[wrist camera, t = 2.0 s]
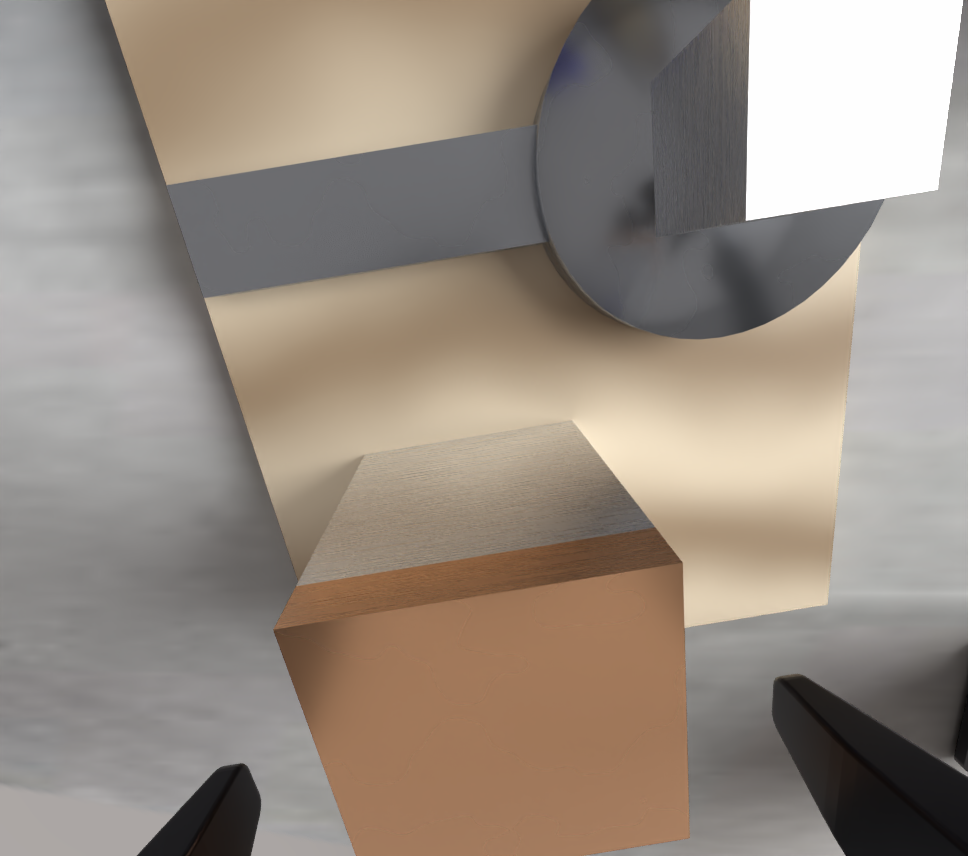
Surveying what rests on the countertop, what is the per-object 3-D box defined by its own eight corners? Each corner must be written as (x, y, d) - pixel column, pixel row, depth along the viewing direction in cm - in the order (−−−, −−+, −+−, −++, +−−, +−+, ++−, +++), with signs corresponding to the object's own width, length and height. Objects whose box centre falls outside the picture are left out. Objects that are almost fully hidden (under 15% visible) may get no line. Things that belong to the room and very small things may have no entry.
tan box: (589, 593, 15) (689, 838, 9) (407, 623, 15) (369, 890, 9) (572, 420, 13) (682, 562, 7) (365, 454, 13) (272, 630, 7)
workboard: (806, 586, 17) (827, 604, 16) (339, 662, 17) (332, 685, 16) (861, -151, 11) (900, -193, 10) (118, -29, 11) (85, -59, 10)
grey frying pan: (836, 306, 13) (1059, 325, 8) (257, 401, 13) (139, 476, 8) (867, -66, 10) (1215, -355, 6) (146, 53, 10) (-122, -137, 6)
